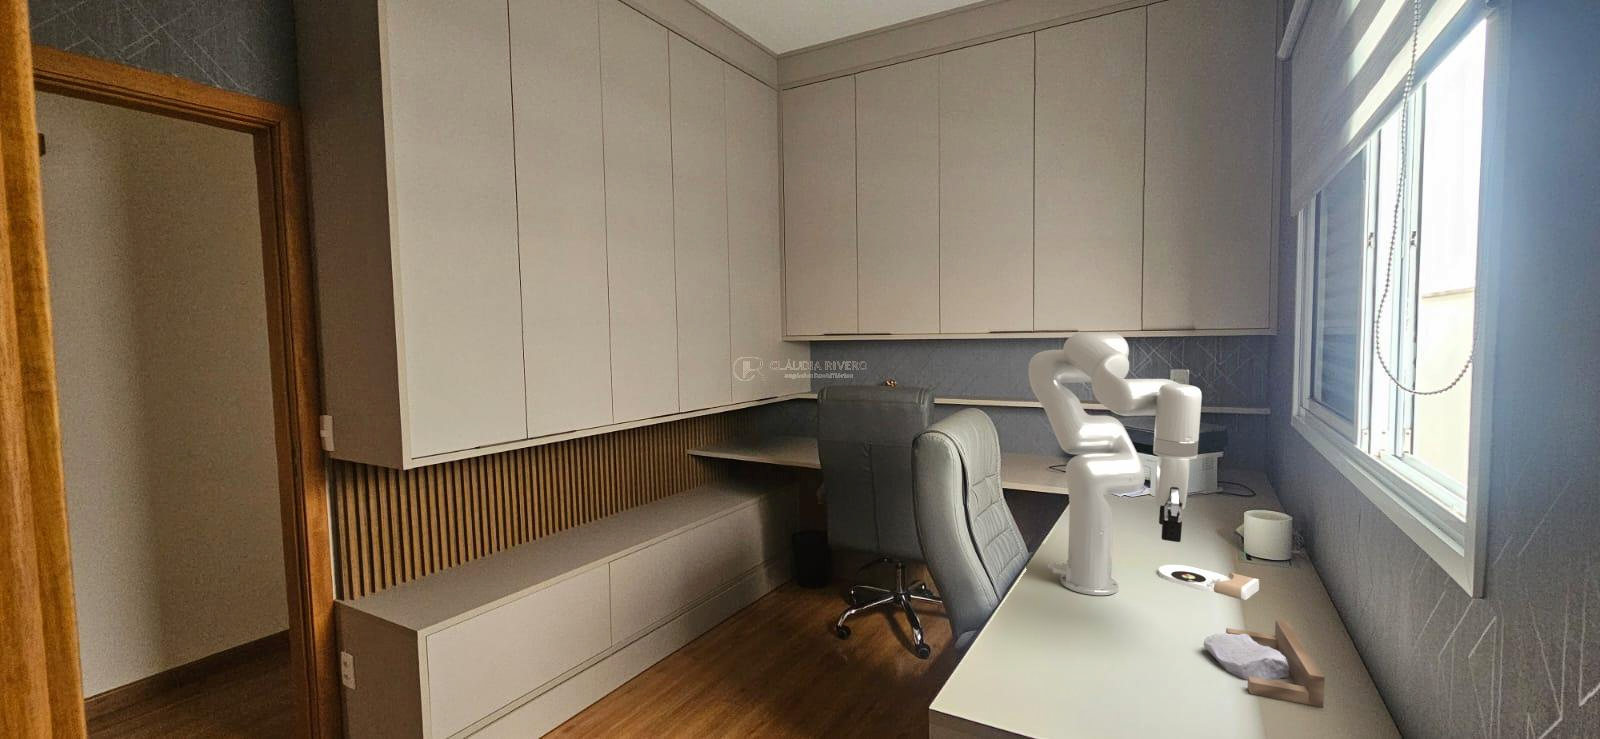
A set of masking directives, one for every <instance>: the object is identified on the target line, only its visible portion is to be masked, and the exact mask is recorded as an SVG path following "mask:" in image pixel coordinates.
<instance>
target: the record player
mask: <svg viewBox="0 0 1600 739" xmlns="http://www.w3.org/2000/svg"><path fill="white" fill-rule="evenodd" d="M1158 576H1159V577H1161V579H1164V580H1165V581H1168V582H1170V583H1175V584H1177V585H1181V586H1185V587H1189V588H1192V589H1196V590H1200V591H1204V592H1211V593H1218V594H1220V595H1224V596H1228V597H1232V598H1236V599H1239V600H1243V601H1246V600H1248V599H1249V598H1251V597H1252V596H1253V595H1255V594H1256V593H1257V592H1259V590H1260V579H1258V578H1254V577H1249V576H1246V575H1241V574H1237V573H1234V572H1229V574H1228V576H1226V575H1223V574H1221V573H1218V572H1214V571H1210V570H1206V569H1202V568H1198V567H1193V566H1188V565H1182V564H1165V565H1162V566H1160V567H1158Z"/></svg>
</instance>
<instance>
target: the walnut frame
mask: <svg viewBox="0 0 1600 739" xmlns="http://www.w3.org/2000/svg"><path fill="white" fill-rule="evenodd" d="M1274 626H1275V627H1274V629H1275V630H1274V634H1268V633H1261V632H1254V631H1247V630H1242V629H1236V628H1229V627H1226V629H1225V630H1226V632H1225V633H1227V634H1235V635H1236V634H1237V635H1240V634H1247V635H1249V636H1250V637H1251V639H1252V640H1253V641H1255V642H1257V643H1258V644H1259V645H1262V646H1269V647H1270V648H1273V649H1275V650H1277V651H1279V652H1280V653H1281V654H1282V655H1283V656H1285V657H1286V659H1287V662H1288V666H1289V671H1288V673H1290V676H1291V677H1292V679H1293V680H1294V682H1295V684H1293V683H1287V682H1282V681H1276V680H1275V681H1274V680H1272V679H1270V680H1265V679H1260V678H1254V677H1249V676H1248V680H1247V690H1248V692H1249V694H1251V695H1255V696H1261V697H1267V698H1272V699H1277V700H1281V701H1288V702H1294V703H1299V704H1305V705H1308V706H1315V707H1319V708H1320V707H1321V708H1324V701H1325V700H1324V699H1325V697H1324V696H1325V682H1326V681H1325V680H1326V677H1325V676H1324V674H1323V673H1322V671H1321V669H1320V668H1319V666H1318V665H1317V664H1316V662H1315V660H1314V659H1313V657H1312V656H1311V654H1310V653H1309V651H1308V650H1307V649H1306V646H1305V645H1304V644H1303V642H1302V641H1301V639H1300V638H1299V636H1298V634H1297V633H1296V632H1295V630H1294V629H1293V627H1292V625H1291V623H1289V621H1285V620H1284V621H1282V620H1275V624H1274Z"/></svg>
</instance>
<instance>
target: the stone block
mask: <svg viewBox="0 0 1600 739" xmlns="http://www.w3.org/2000/svg"><path fill="white" fill-rule="evenodd" d="M1203 647H1204V649H1206V650H1207V651H1208V653H1209V654H1211V656H1212V657H1213V658H1214V659H1215V660H1216V661H1217V662H1218V664H1219V665H1221V666H1222V668H1224V669H1225V671H1227V672H1228V673H1230V674H1232V675H1234V676H1236V677H1238V678H1240V679H1243V680H1245V681H1248V676H1249V677H1254V678H1260V679H1265V680H1278V679H1286V678H1288V676H1289V666H1288V662H1287V659H1286V657H1285V656H1283V655H1282V654H1281V653H1280V652H1279V651H1277V650H1275V649H1273V648H1270V647H1269V646H1262V645H1259V644H1258V643H1257V642H1255V641H1253V640H1252V639H1251V637H1250V636H1249V635H1247V634H1240V635H1237V634H1236V635H1235V634H1227V633H1226V632H1225V633H1215V634H1212V635H1210V636H1207V637H1206V638H1205V639H1204V642H1203Z"/></svg>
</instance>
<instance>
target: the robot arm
mask: <svg viewBox="0 0 1600 739" xmlns="http://www.w3.org/2000/svg"><path fill="white" fill-rule="evenodd" d="M1129 348H1130V347H1129V344H1128V342H1127V340H1126V338H1124V337H1123V336H1122V335H1120V334H1119V333H1116V332H1109V331H1108V332H1100V331H1099V332H1095V331H1094V332H1093V331H1091V332H1079V333H1078V332H1077V333H1075V334H1073V335H1071V336H1070V337H1068V338H1067V340H1066V341H1065V342H1064V344H1063V349H1049V350H1043V351H1040V352H1038V353H1036V354H1034V355H1033V356H1032V357H1031V358H1030V361H1029V364H1028V370H1027V371H1028V380H1029V384H1030V388H1031V390H1032V392H1033V394H1034V396H1035V397H1036V399H1037V401H1039V403H1040V404H1041V406H1042V408H1043V409H1044V411H1045V413H1046V416H1047V418H1048V420H1049V423H1050V425H1051V428H1052V430H1053V434H1054V435H1055V438H1056V439H1057V441H1058V443H1059V446H1060V448H1061V449H1062V451H1064V452H1065V453H1067V454H1069V455H1075V456H1073V457H1072V458H1070V459H1069V461H1068V462H1067V464H1066V467H1065V477H1066V478H1065V479H1066V483H1067V488H1068V489H1067V490H1068V498H1069V500H1068V502H1069V504H1068V505H1069V506H1068V508H1069V511H1068V512H1069V513H1068V517H1069V518H1068V546H1067V547H1068V552H1067V555H1068V557H1067V560H1066V563H1065V562H1064V563H1063V562H1062V563H1056V562H1048V564H1047V570H1048V571H1052V574H1053V575H1061V576H1060V583H1061V585H1062V586H1064V587H1065V588H1067V589H1069V590H1071V591H1074V592H1076V593H1080V594H1083V595H1084V594H1085V595H1091V596H1108V595H1114V594H1116V593H1117V592H1118V591H1119V584H1118V582H1117V581H1116V580H1115V579H1113V578H1112V572H1113V571H1112V569H1113V568H1112V567H1113V566H1112V564H1113V535H1114V512H1113V510H1112V508H1111V506H1110V505H1109V503H1108V501H1107V500H1106V498H1105V495H1115V494H1128V493H1129V494H1131V493H1135V492H1138V491H1139V490H1141V489H1142V488H1143V486H1144V484H1145V480H1146V470H1145V467H1144V465H1143V462H1142V460H1141V458H1140V456H1139V454H1138V452H1137V449H1136V448H1135V445H1134V444H1133V442H1132V439H1131V438H1130V436H1129V434H1128V432H1127V430H1126V428H1125V425H1124V424H1123V423H1122V422H1121V421H1120V420H1118V419H1117V417H1114V416H1111V415H1097V414H1096V415H1090V414H1088V413H1087V412H1086V411H1085V410H1084V407H1083V406H1082V402H1081V401H1080V399H1079V398H1078V397H1077V396H1076V395H1075V394H1074V393H1073V392H1072V391H1071V390H1070V389H1069V388H1067V387H1066V386H1064V385H1063V384H1064V383H1067V384H1069V383H1073V384H1075V383H1091V390H1092V392H1093V395H1094V397H1095V399H1096V400H1097V401H1098V402H1099V403H1100V404H1101V405H1102V406H1104V407H1105V408H1107V409H1108V410H1109V411H1111V412H1112V413H1114V414H1117V415H1119V416H1123V417H1136V416H1138V417H1140V416H1141V417H1143V416H1151V417H1152V416H1155V420H1154V422H1155V423H1154V435H1153V437H1154V438H1153V449H1152V452H1153V455H1156V456H1158V458H1157V467H1156V476H1155V477H1156V478H1155V489H1154V500H1155V505H1156V507H1158V508H1159V513H1158V514H1159V515H1158V516H1159V517H1158V518H1159V519H1158V523H1159V525H1161V540H1163V541H1169V542H1175V543H1180V542H1181V541H1182V539H1181V538H1182V529H1183V528H1182V527H1183V521H1182V510H1184V509H1185V508H1186V505H1187V503H1186V502H1187V497H1188V489H1189V488H1188V487H1189V479H1190V477H1189V476H1190V465H1191V464H1190V462H1191V460H1194V459H1197V458H1198V452H1199V440H1200V439H1199V438H1200V425H1201V412H1202V411H1201V409H1202V398H1203V395H1202V391H1201V389H1200V388H1199V387H1197V386H1194V385H1190V384H1183V383H1179V382H1177V381H1174V380H1172V379H1167V378H1126V377H1127V375H1128V373H1129V370H1130V361H1129V359H1128V358H1129V353H1130V349H1129ZM1062 383H1063V384H1062Z"/></svg>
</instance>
